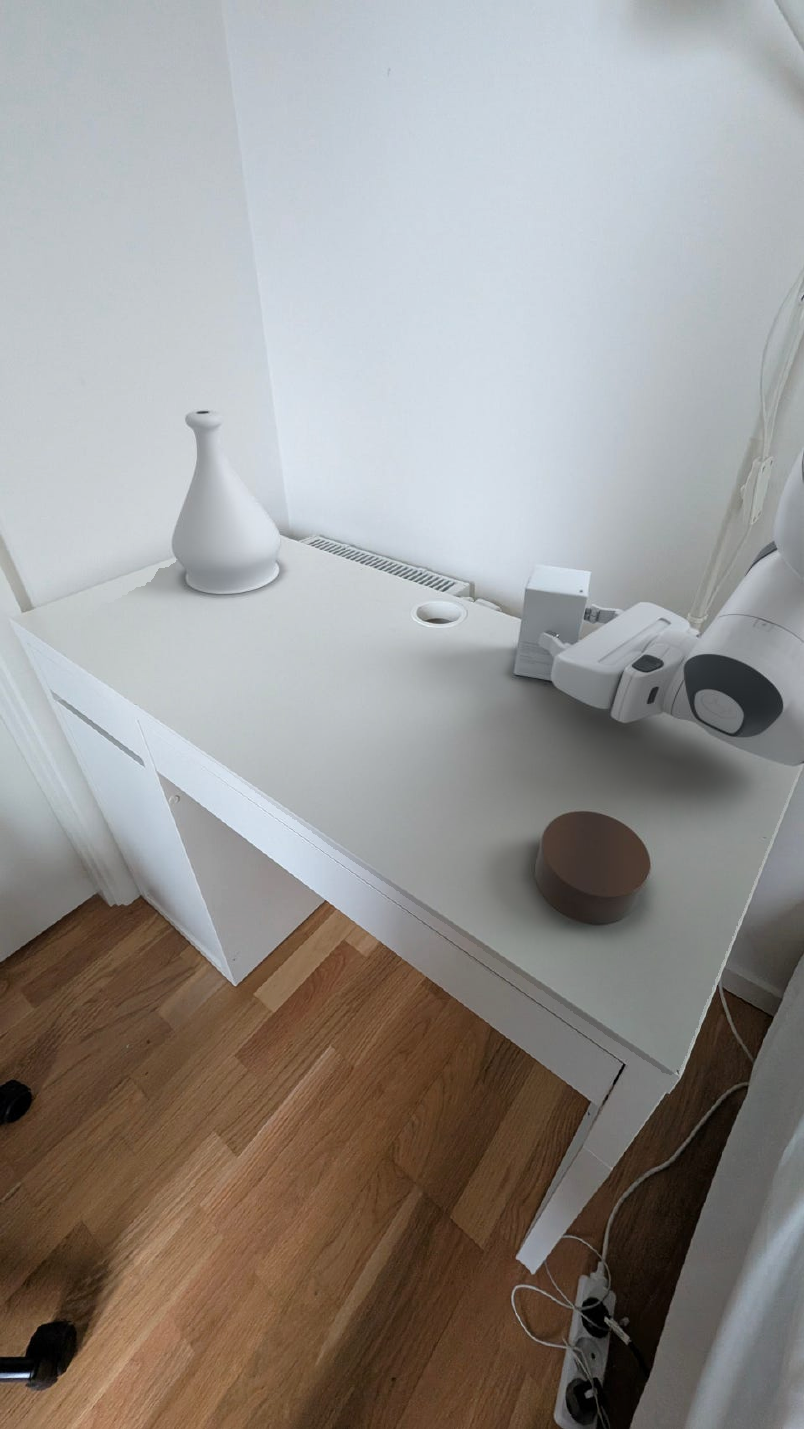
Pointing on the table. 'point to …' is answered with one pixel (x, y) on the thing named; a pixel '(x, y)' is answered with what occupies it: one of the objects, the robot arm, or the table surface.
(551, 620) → the white packaging box
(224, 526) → the vase
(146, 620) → the table surface
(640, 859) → the walnut riser
